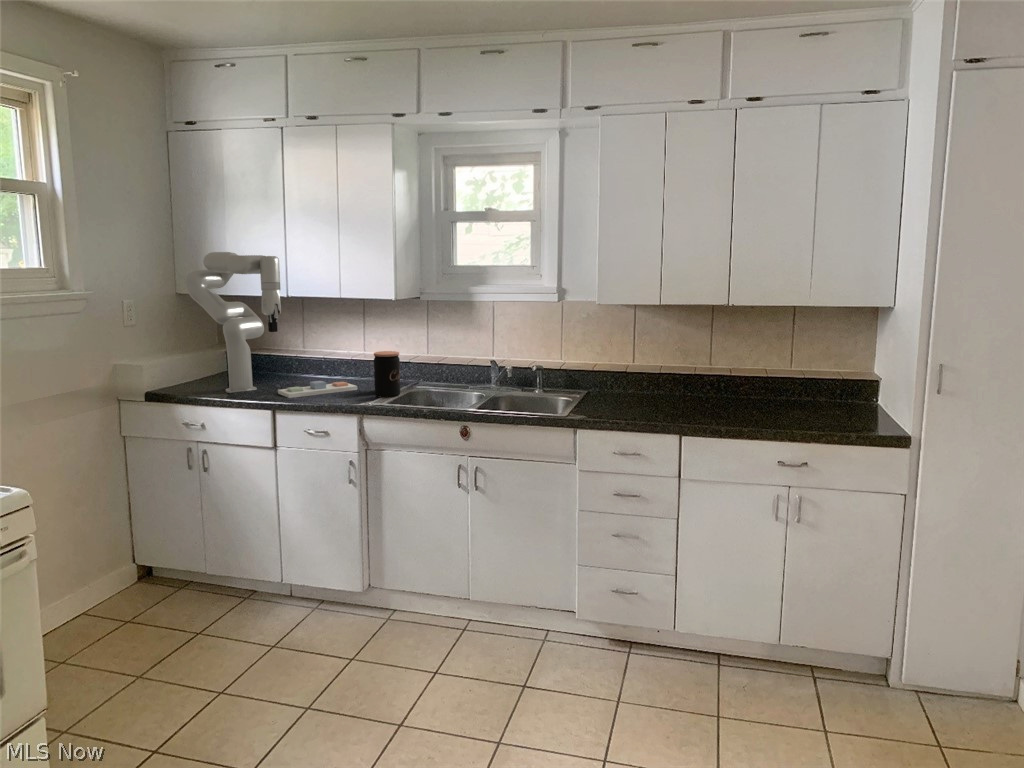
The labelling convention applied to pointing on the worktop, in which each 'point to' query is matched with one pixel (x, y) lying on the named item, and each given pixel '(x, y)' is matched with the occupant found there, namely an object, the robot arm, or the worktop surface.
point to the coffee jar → (387, 373)
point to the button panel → (309, 391)
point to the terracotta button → (339, 384)
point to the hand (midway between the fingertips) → (273, 331)
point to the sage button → (294, 389)
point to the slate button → (317, 385)
